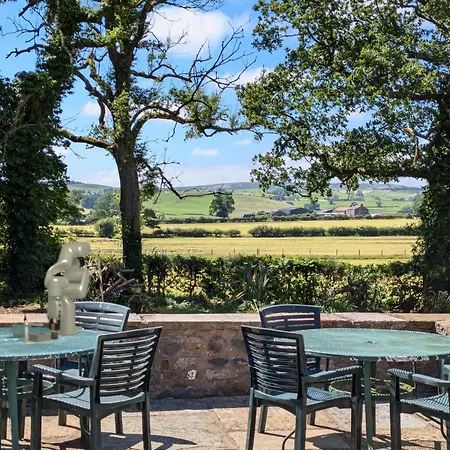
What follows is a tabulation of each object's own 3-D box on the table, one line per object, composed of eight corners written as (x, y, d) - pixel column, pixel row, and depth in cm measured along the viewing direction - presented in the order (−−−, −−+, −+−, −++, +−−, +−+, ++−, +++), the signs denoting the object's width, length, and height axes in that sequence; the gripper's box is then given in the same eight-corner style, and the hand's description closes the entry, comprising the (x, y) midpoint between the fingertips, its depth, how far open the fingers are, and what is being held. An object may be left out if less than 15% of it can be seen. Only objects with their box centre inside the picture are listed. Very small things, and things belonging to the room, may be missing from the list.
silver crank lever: (22, 325, 398) (22, 321, 398) (26, 324, 401) (26, 321, 401) (40, 326, 393) (40, 323, 393) (44, 326, 396) (44, 322, 396)
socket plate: (43, 339, 414) (43, 322, 414) (53, 341, 407) (53, 323, 407) (18, 343, 401) (18, 325, 401) (28, 345, 394) (28, 326, 394)
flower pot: (24, 339, 413) (24, 324, 413) (11, 339, 415) (11, 324, 415) (31, 337, 422) (31, 322, 422) (18, 337, 424) (18, 322, 424)
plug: (55, 337, 416) (55, 322, 416) (60, 338, 413) (60, 323, 413) (48, 338, 412) (49, 323, 412) (53, 339, 409) (53, 324, 409)
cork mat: (55, 338, 416) (55, 337, 416) (61, 339, 412) (61, 338, 412) (48, 339, 412) (48, 338, 412) (54, 340, 409) (54, 339, 409)
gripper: (68, 299, 410) (68, 330, 410) (51, 297, 421) (51, 327, 421) (58, 300, 404) (58, 331, 404) (40, 298, 415) (40, 328, 415)
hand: (54, 329), depth 413 cm, fingers open, 5 cm apart
